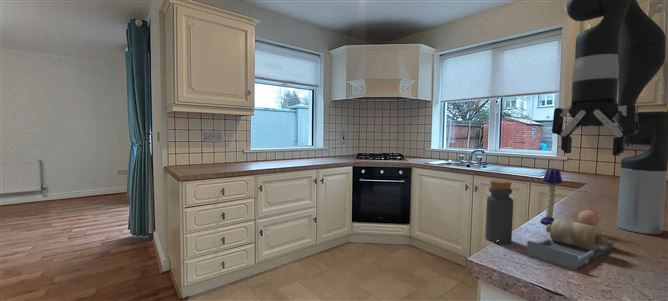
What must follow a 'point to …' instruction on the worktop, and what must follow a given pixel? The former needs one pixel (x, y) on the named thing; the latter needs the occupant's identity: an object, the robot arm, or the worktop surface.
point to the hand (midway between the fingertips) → (590, 154)
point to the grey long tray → (564, 253)
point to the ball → (588, 218)
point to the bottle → (499, 213)
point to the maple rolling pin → (576, 234)
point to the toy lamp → (551, 193)
